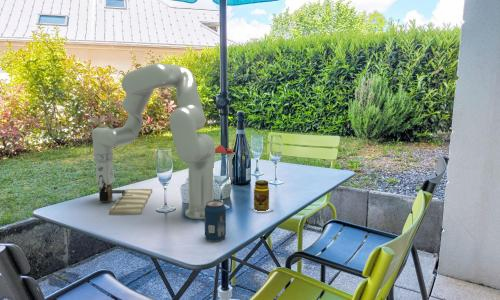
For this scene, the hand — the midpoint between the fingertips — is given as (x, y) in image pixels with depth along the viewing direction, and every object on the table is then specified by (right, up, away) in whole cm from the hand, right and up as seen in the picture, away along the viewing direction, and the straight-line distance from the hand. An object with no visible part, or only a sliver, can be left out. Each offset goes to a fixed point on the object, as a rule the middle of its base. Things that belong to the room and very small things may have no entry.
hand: (106, 198), depth 157 cm
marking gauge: (+3, -1, 0) cm, 3 cm away
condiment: (+66, -4, -7) cm, 67 cm away
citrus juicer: (+46, +3, +31) cm, 56 cm away
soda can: (+50, -9, -35) cm, 62 cm away
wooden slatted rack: (+12, -2, 0) cm, 12 cm away
